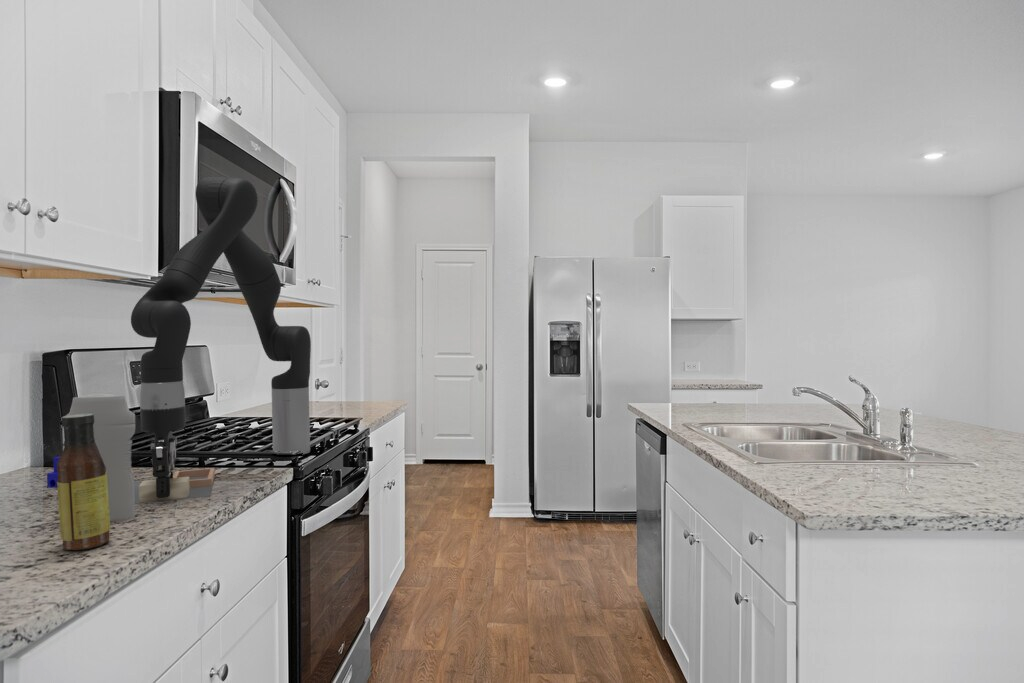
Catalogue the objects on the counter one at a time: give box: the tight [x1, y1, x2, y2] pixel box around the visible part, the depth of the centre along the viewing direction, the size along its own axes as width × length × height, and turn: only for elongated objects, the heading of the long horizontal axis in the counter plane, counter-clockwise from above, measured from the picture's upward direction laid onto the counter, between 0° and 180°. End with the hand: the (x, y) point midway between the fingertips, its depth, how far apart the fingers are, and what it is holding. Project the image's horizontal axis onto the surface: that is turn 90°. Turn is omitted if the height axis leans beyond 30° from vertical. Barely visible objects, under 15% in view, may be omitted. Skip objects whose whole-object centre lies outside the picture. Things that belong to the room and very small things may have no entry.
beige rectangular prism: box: [139, 477, 190, 502], centre depth 120 cm, size 8×4×3 cm, turn 112°
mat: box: [134, 473, 216, 505], centre depth 127 cm, size 20×16×1 cm
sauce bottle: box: [57, 414, 111, 552], centre depth 95 cm, size 7×6×20 cm
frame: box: [173, 467, 216, 488], centre depth 132 cm, size 11×8×2 cm
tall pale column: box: [65, 392, 136, 523], centre depth 106 cm, size 11×4×22 cm, turn 106°
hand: (165, 493), depth 121 cm, fingers closed on beige rectangular prism, 4 cm apart
